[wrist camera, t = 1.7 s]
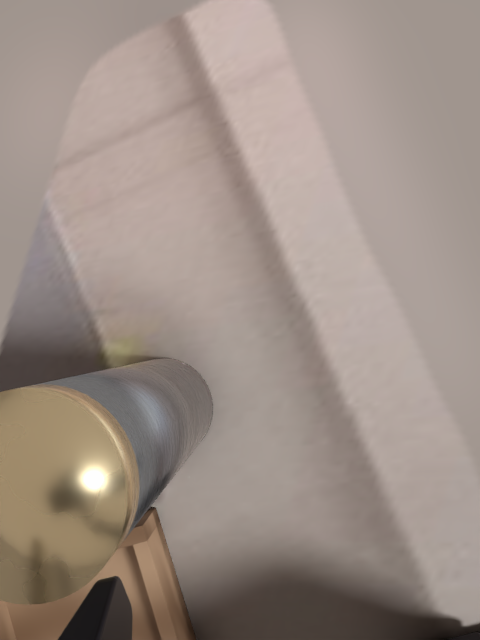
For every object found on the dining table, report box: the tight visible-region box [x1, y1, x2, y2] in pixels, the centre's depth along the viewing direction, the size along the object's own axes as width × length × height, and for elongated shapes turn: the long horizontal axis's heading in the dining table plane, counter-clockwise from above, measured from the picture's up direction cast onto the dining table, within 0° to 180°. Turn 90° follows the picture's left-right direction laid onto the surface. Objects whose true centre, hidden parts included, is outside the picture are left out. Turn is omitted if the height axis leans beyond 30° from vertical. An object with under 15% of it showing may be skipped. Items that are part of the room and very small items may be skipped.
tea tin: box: [0, 358, 213, 605], centre depth 18 cm, size 6×6×13 cm
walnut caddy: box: [0, 508, 196, 640], centre depth 23 cm, size 11×11×2 cm
